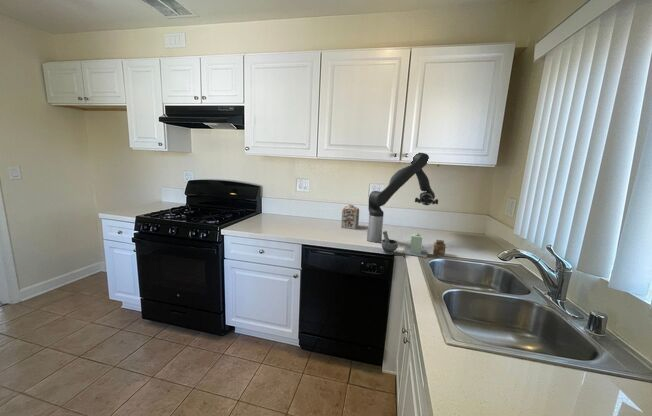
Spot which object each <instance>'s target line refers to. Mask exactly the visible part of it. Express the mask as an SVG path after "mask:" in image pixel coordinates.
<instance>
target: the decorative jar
mask: <svg viewBox="0 0 652 416" xmlns="http://www.w3.org/2000/svg"><path fill="white" fill-rule="evenodd" d="M359 220H360V209H359V207H357V206H355V205H354V204H351V203H350V204H347V206H343V208H342V211H341V221H340V222H341V223H340V227H341V228H342V229H348V228H349V229H350V230H356V229H357V228H358V227H359V222H360V221H359Z"/></svg>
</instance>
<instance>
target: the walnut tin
mask: <svg viewBox="0 0 652 416" xmlns="http://www.w3.org/2000/svg"><path fill="white" fill-rule="evenodd" d="M446 248H447V247H446V243H445V240H441V239H436V242H435V241H434V244H433V251H432V253H433V254H432V255H433V256H438V255H439V256H440V257H445V256H446V255H445V254H446Z"/></svg>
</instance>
